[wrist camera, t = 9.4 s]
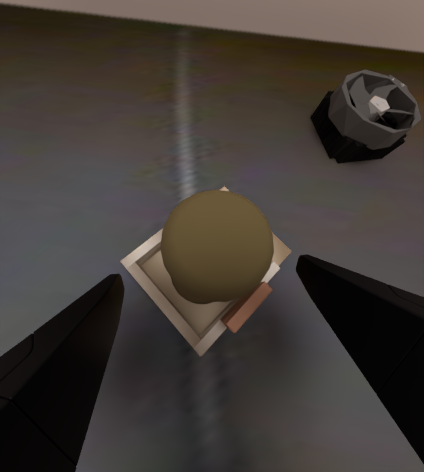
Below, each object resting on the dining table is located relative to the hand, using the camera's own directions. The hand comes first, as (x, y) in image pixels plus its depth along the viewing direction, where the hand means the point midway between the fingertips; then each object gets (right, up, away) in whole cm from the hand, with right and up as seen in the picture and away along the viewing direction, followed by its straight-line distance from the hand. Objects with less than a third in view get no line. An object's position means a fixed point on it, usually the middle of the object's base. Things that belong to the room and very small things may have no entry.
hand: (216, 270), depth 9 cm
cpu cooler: (+19, +16, +18) cm, 31 cm away
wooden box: (0, -1, +10) cm, 10 cm away
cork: (-1, -2, +8) cm, 9 cm away
